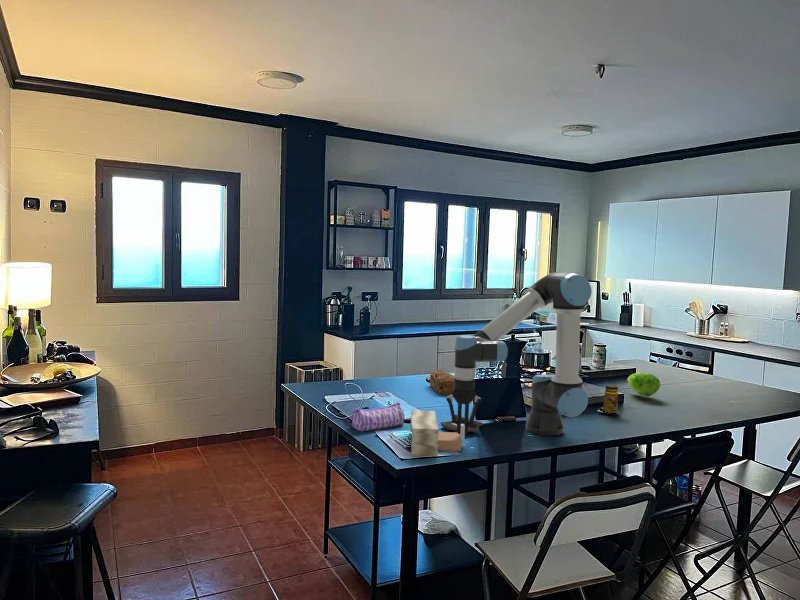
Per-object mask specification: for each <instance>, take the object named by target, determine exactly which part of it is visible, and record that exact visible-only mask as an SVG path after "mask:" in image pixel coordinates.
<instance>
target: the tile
mask: <svg viewBox="0 0 800 600" xmlns="http://www.w3.org/2000/svg"><path fill="white" fill-rule="evenodd" d="M441 450H442V451H451V452H452V451H453V452H455V451H457V452H458V451H459V452H461V451H462V444H461V438H460V434H458V433H457V431H454V432H453V431H452V432H451V431H450V432H448V431H438V451H441Z"/></svg>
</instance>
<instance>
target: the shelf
mask: <svg viewBox="0 0 800 600" xmlns="http://www.w3.org/2000/svg"><path fill="white" fill-rule="evenodd" d="M439 430H440V429H439V425H438V421H437V416H436V411H435V410H417V409H416V410H415V409H414V410H410V431H409V432H412V434H411V449H410V451H411V452H410V454H412V456H425V457H426V456H427V457H428V456H429V457H438V455H439V454H438V453H439V450H438V432H439Z"/></svg>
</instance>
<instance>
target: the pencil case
mask: <svg viewBox="0 0 800 600" xmlns="http://www.w3.org/2000/svg"><path fill="white" fill-rule="evenodd" d="M353 410H354V411H353V413H352V414H351V415H352V416H351V426H352V428H353V429H355V430H357V431H359V432H367V431H372V430H373V431H374V430H380V429H387V428H392V427H396V426H397V427H398V426H401V425H403V424H404V423H405V412H404V410H403V408H402V407H401V403H400V402H396V403H393V404H391V405H388V406H384V407H378V408H372V409H370V408H369V409H361V408H353Z"/></svg>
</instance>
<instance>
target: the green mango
mask: <svg viewBox="0 0 800 600" xmlns="http://www.w3.org/2000/svg"><path fill="white" fill-rule="evenodd" d="M627 382H628V385H629V386H630V388H631V390H632V391H633V392H635V393H637V394H638V395H641V396H645V397H650V396H653V395H654V394H656V393H657V392H658V391H659V390H660V388H661V382H660V379H659V378H657V377H656V376H655V375H654V374H652V373H650V372H649V373H647V372H635V373H632V374H630V375H629V376H628V377H627Z"/></svg>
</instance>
